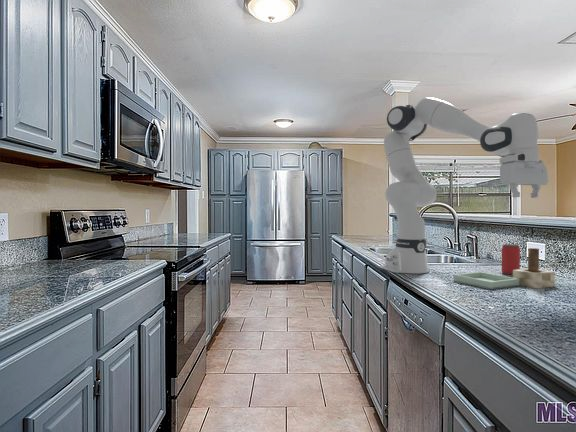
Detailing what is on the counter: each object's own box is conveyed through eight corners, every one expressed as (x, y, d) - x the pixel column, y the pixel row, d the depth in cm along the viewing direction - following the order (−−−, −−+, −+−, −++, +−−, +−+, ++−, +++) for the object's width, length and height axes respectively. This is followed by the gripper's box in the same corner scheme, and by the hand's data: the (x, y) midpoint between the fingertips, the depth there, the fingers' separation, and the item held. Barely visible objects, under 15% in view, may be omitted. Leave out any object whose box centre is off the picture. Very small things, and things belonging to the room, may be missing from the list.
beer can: (502, 271, 163) (502, 243, 162) (520, 273, 159) (520, 244, 158) (500, 273, 157) (500, 245, 157) (519, 275, 153) (519, 246, 153)
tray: (453, 281, 143) (453, 274, 143) (480, 278, 148) (480, 271, 148) (491, 289, 128) (491, 282, 128) (519, 285, 134) (519, 278, 134)
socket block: (512, 283, 137) (512, 269, 137) (529, 281, 141) (529, 268, 141) (537, 288, 129) (537, 273, 129) (554, 286, 133) (554, 271, 133)
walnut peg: (525, 284, 136) (526, 248, 136) (531, 283, 137) (532, 247, 137) (534, 286, 133) (535, 249, 133) (540, 285, 134) (541, 248, 134)
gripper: (535, 161, 141) (536, 198, 141) (495, 158, 133) (497, 197, 133) (552, 158, 135) (554, 197, 135) (512, 155, 128) (513, 196, 127)
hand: (525, 197), depth 134 cm, fingers open, 8 cm apart
